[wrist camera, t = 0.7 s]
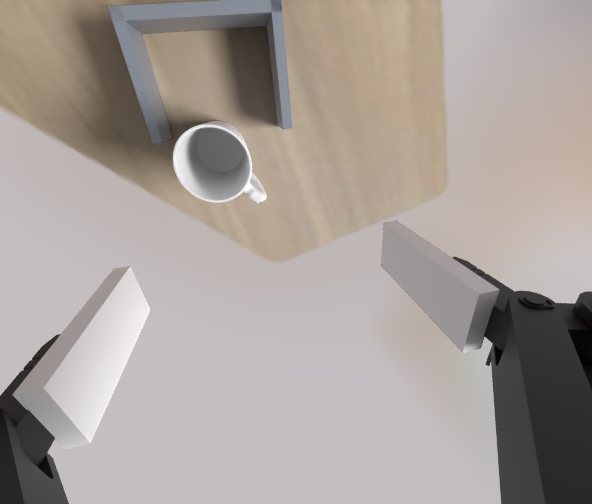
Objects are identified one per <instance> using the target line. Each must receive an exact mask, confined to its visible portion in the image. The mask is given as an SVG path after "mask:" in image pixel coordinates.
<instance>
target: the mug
mask: <svg viewBox="0 0 592 504" xmlns="http://www.w3.org/2000/svg"><path fill="white" fill-rule="evenodd" d="M173 167H174V171H175V174H176V176H177V178H178V180H179V181H180V183H181V184H182V186H183V187H184V188H185V189H186V190H187V191H188V192H189V193H191V194H192V195H194V196H195V197H197V198H199V199H201V200H204V201H208V202H226V201H229V200H232V199H234V198H236V197H237V196H239V195H240V194H241V193H242V192H243V193H245V194H246V195H248V196H249V198H250V199H251V200H253V201H254V202H255V203H259V202H262V201H264V200H265V199H266V198H267V195H266V192H265V190H264V188H263V187H262V185H261V183H260V182H259V180H258V179H257V177H256V176H255V175H254V174H253V173H252V163H251V158H250V154H249V151H248V149H247V146H246V144H245V141H244V139H243V137H242V135H241V134H240V132H239V131H238V130H237V129H236V128H235V127H234V126H232V125H231V124H229V123H226V122H223V121H211V122H207V123H204V124H200V125H197V126H194V127H192V128H190V129H188V130H187V131H185V132H184V133H183V134H182V135H181V136H180V137H179V139H178V140H177V142H176V144H175V147H174V150H173Z"/></svg>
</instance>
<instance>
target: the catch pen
mask: <svg viewBox="0 0 592 504" xmlns="http://www.w3.org/2000/svg"><path fill="white" fill-rule="evenodd" d="M108 10H109V13H110V16H111V19H112V22H113V25H114V28H115V31H116V34H117V37H118V40H119V43H120V46H121V49H122V52H123V55H124V58H125V61H126V64H127V67H128V70H129V74H130V77H131V80H132V83H133V86H134V89H135V92H136V95H137V98H138V101H139V104H140V107H141V110H142V113H143V116H144V119H145V122H146V125H147V128H148V131H149V134H150V138H151V141H152V144H155V143H163V142H165V141H167V140H169V139H171V138H172V135H171V132H170V128H169V125H168V121H167V118H166V114H165V111H164V108H163V104H162V101H161V97H160V94H159V90H158V87H157V83H156V80H155V77H154V73H153V70H152V66H151V63H150V59H149V56H148V53H147V49H146V46H145V42H144V39H143V35H142V34H148V33H164V32H179V31H195V30H211V29H226V28H242V27H258V26H267V34H268V43H269V52H270V62H271V71H272V80H273V89H274V98H275V107H276V117H277V126H278V127H280V128H282V129H289V128H292V121H291V109H290V98H289V86H288V74H287V62H286V51H285V39H284V27H283V15H282V4H281V0H220V1H200V2H181V3H161V4H141V5H122V6H108Z"/></svg>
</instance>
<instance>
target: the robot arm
mask: <svg viewBox="0 0 592 504" xmlns="http://www.w3.org/2000/svg"><path fill="white" fill-rule="evenodd" d="M381 266H382V268H383V269H384V270H385V271H386V272H387V273H388V274H389V275H390V276H391V277H392V278H393V279H394V280H395V281H396V282H397V283H398V285H399V286H400V287H401V288H402V289H403V290H404V291H405V292H406V293H407V294H408V295H409V296H410V297H411V298H412V299H413V300H414V302H415V303H416V304H417V305H418V306H419V307H420V308H421V309H422V310H423V311H424V312H425V313H426V314H427V315H428V316H429V318H430V319H431V320H432V321H433V322H434V323H435V324H436V325H437V326H438V327H439V328H440V329H441V330H442V331H443V332H444V333H445V335H446V336H447V337H448V338H449V339H450V340H451V341H452V342H453V343H454V344H455V345H456V346H457V347H458V348H459V349H460V350H461V352H463V353H464V352H468V351H472V350H476V349H480V348H481V346H482V343H483V340H484V337H486V338H487V339H488V340H490V341H491V342H492V343H493V344H492V347H491V350H490V353H489V356H488V359H487V362H486V365H488V366H489V365H490V362H491V365H492V379H493V392H494V407H495V421H496V435H497V449H498V463H499V477H500V489H501V490H500V491H501V504H592V292H583V293H581V294H580V295H579V297H578V299H577V301H576V303H575V304H566V303H555V302H554V301H552V300H551V299H549V298H547V297H545V296H543V295H540V294H537V293H533V292H529V291H516V292H514V291H513V290H511V289H510V288H508V287H506V286H505V285H504V284H502V283H500V282H499V281H497V280H496V279H494V278H493V277H491V276H490V275H488V274H485V272H483V271H482V270H480V269H477V267H475V266H474V265H472V264H471V263H469V262H468V261H465V260H462V259H460V258H457V257H450V256H449V255H447V254H446V253H444V252H443V251H441V250H440V249H438V248H437V247H435V246H434V245H432V244H431V243H429V242H428V241H426V240H425V239H423V238H422V237H420V236H419V235H417V234H416V233H414V232H413V231H411V230H410V229H408V228H407V227H405V226H404V225H402V224H401V223H400V222H398V221H391V222H385V223H384V224H383V242H382V256H381ZM149 312H150V308H149V306H148V304H147V302H146V299H145V297H144V295H143V293H142V291H141V289H140V286H139V284H138V282H137V280H136V278H135V275H134V273H133V271H132V269H131V267H130V266H128V267H123V268H117V269H114V270H112V272H111V273H110V274H109V275H108V277H107V278H106V279H105V280H104V282H103V283H102V284H101V285H100V287H99V288H98V289H97V291H96V292H95V293H94V294H93V295H92V297H91V298H90V299H89V300H88V301H87V303H86V304H85V305H84V306H83V308H82V309H81V310H80V311H79V313H78V314H77V315H76V316H75V318H74V319H73V320H72V321H71V322H70V324H69V325H68V326H67V327H66V329H65V330H64V331H63V332H62V334H59V335H56V336H55V337H54V338H52V339H51V340H50V341H48V342H47V343H46V344H45V345H43V346H42V347H41V348H40V350H39V351H38V352H37V353H36V354H35V355H34V357H33V358H32V360H31V361H29V363H28V364H27V365H26V366H25V367H24V370H23V371H21V372H20V373H19V374H18V376H17V377H16V378H15V379H14V380H13V381H12V383H11V384H10V385H9V386H8V387H7V389H6V390H5V391H4V392H3V393H2V395H1V396H0V504H69V503H68V500H67V497H66V495H65V492H64V489H63V486H62V483H61V480H60V477H59V474H58V472H57V469H56V466H55V463H54V460H53V458H52V457H51V456H50V455H49V454H48V453H47V452H48V450H49V448H50V446H51V445H52V443H53V441H54V439H55V440H56V441H57V442H58V443H59V444H60V445H61V446H62V447H63V449H69V448H72V447H77V446H81V445H85V444H89V443H91V441H92V439H93V436H94V434H95V432H96V430H97V427H98V425H99V423H100V421H101V419H102V416H103V414H104V412H105V410H106V407H107V405H108V403H109V401H110V399H111V396H112V394H113V392H114V389H115V387H116V385H117V383H118V381H119V378H120V376H121V374H122V372H123V369H124V367H125V365H126V363H127V361H128V359H129V356H130V354H131V352H132V350H133V347H134V345H135V343H136V341H137V339H138V336H139V334H140V332H141V330H142V328H143V325H144V323H145V321H146V318H147V316H148V314H149Z"/></svg>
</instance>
